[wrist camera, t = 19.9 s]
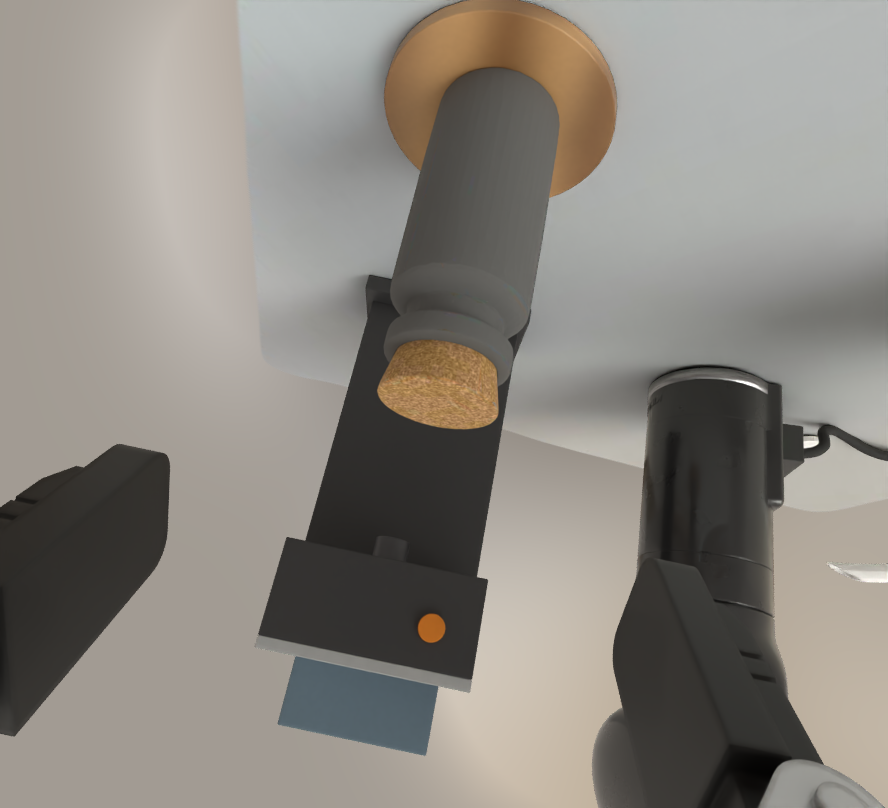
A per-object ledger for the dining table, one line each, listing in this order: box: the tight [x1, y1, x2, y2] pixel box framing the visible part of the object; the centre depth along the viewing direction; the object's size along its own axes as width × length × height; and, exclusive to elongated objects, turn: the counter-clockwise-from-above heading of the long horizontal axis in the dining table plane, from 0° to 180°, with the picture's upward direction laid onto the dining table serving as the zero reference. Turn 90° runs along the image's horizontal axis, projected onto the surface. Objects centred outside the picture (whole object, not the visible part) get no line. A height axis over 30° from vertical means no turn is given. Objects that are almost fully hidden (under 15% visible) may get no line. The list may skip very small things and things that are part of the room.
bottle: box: [377, 67, 560, 429], centre depth 27 cm, size 6×6×15 cm
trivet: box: [384, 0, 617, 198], centre depth 30 cm, size 11×11×1 cm
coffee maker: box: [255, 275, 531, 756], centre depth 41 cm, size 12×12×30 cm
